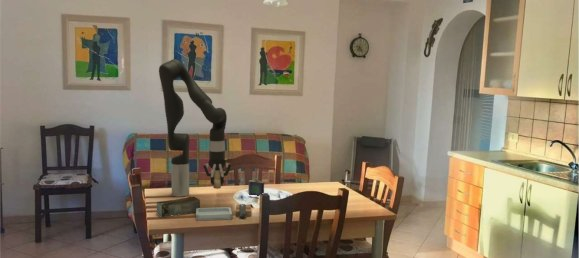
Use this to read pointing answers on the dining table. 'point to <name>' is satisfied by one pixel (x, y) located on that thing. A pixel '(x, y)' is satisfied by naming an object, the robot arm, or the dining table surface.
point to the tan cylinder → (217, 179)
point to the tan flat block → (248, 210)
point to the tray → (214, 213)
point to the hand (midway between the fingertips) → (217, 184)
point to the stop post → (242, 211)
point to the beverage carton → (178, 206)
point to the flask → (255, 187)
